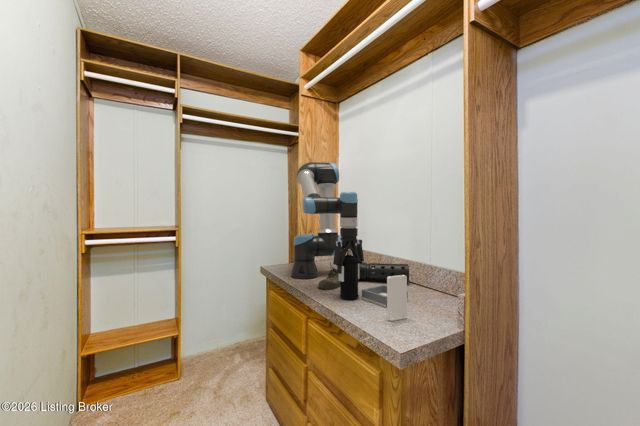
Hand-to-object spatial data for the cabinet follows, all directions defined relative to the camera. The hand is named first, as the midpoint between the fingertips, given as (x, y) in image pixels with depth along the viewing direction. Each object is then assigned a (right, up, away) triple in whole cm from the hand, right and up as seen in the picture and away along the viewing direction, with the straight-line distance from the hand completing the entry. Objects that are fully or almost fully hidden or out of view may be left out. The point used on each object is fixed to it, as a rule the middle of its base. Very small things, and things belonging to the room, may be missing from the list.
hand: (349, 279), depth 123 cm
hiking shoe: (-5, -8, +18) cm, 20 cm away
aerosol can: (0, -7, 0) cm, 7 cm away
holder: (+15, -8, -4) cm, 17 cm away
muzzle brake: (+20, -8, +27) cm, 35 cm away
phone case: (+14, -8, -25) cm, 30 cm away
